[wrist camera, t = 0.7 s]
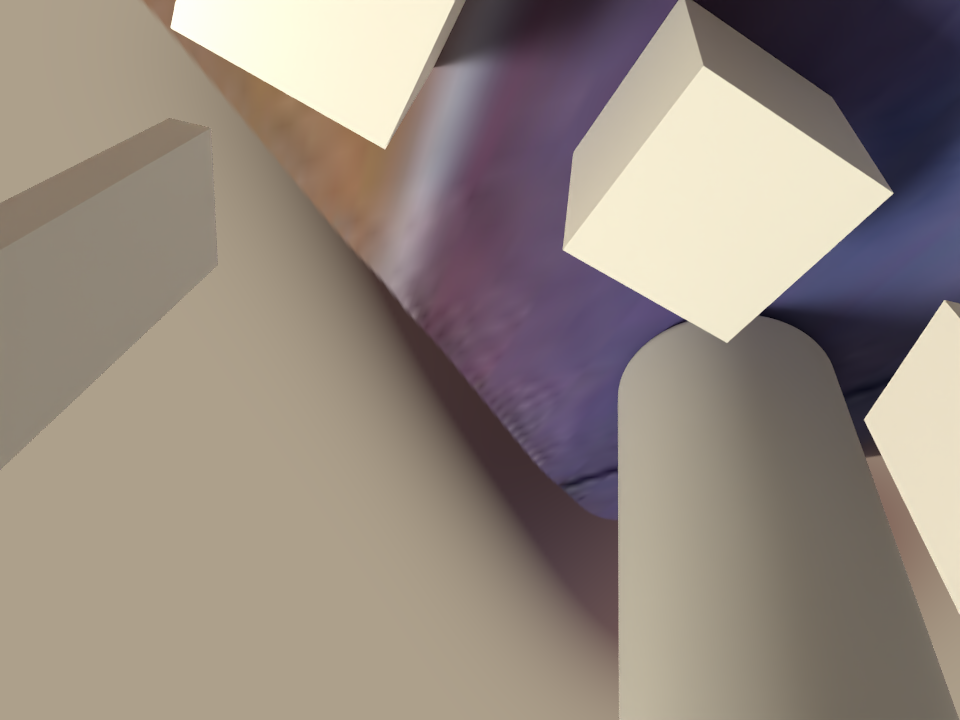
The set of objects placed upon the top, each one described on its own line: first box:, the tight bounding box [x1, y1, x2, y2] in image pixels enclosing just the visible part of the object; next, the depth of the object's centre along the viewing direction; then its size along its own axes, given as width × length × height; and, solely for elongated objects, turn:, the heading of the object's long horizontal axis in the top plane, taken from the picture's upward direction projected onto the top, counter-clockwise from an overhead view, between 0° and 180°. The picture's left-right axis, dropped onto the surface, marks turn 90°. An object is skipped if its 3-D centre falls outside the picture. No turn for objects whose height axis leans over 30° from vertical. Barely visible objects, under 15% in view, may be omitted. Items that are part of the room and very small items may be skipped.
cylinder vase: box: [618, 315, 959, 720], centre depth 33 cm, size 12×12×25 cm
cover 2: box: [563, 0, 893, 343], centre depth 29 cm, size 8×8×9 cm
